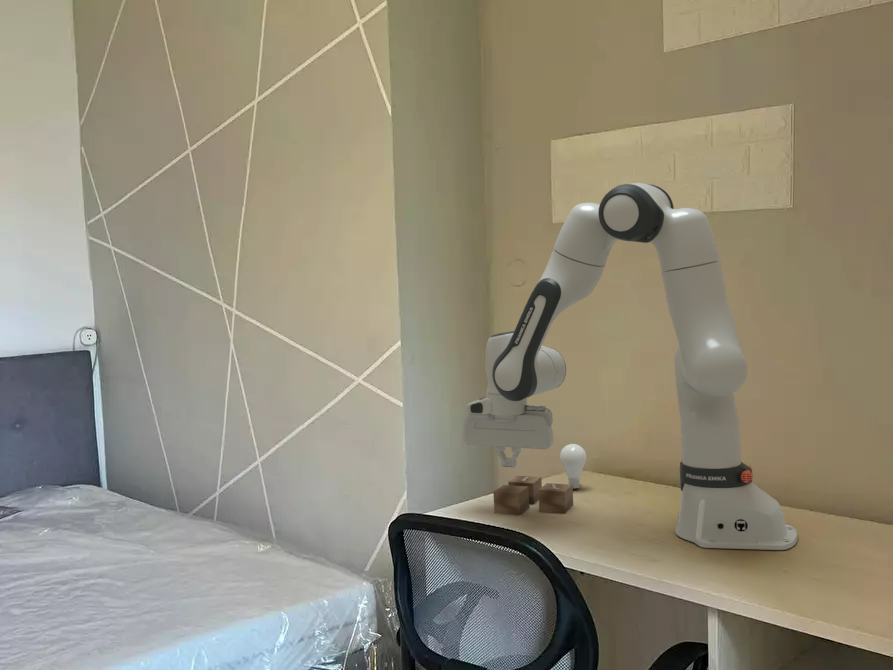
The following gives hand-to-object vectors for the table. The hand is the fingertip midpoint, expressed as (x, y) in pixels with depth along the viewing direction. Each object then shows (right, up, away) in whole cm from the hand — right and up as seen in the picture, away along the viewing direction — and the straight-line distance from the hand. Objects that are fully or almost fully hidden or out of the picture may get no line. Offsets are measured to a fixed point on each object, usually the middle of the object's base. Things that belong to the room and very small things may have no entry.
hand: (508, 466), depth 196 cm
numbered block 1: (+5, -9, +9) cm, 14 cm away
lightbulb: (+17, -8, +16) cm, 25 cm away
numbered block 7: (+11, -10, +1) cm, 14 cm away
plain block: (+1, -10, +1) cm, 10 cm away
